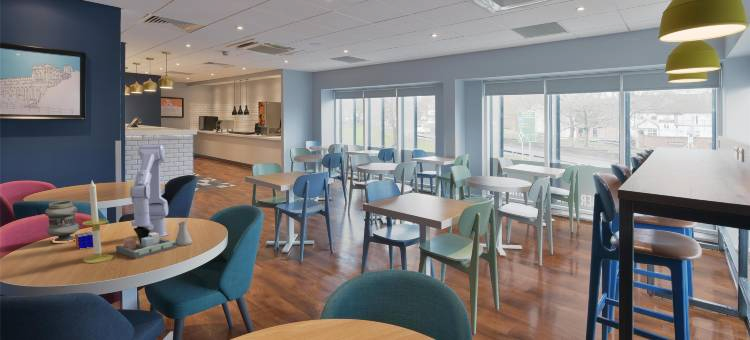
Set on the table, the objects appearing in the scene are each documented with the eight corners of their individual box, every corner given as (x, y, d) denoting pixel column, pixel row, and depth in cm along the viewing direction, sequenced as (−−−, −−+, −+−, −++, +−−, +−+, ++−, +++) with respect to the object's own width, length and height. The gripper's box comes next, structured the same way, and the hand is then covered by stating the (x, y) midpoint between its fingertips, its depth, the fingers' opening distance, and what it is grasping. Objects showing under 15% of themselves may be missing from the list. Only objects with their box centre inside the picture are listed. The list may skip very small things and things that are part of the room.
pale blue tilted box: (141, 247, 174) (141, 238, 173) (149, 245, 176) (148, 236, 176) (146, 249, 172) (146, 240, 171) (154, 247, 174) (153, 238, 174)
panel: (116, 251, 172) (115, 244, 172) (156, 241, 186) (155, 234, 186) (135, 258, 163) (135, 251, 163) (175, 247, 178) (175, 240, 177)
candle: (90, 265, 156) (83, 182, 152) (78, 260, 161) (71, 179, 157) (117, 257, 165) (112, 178, 160) (105, 253, 170) (99, 176, 166)
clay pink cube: (123, 248, 172) (123, 239, 172) (131, 246, 175) (131, 237, 174) (128, 250, 170) (127, 240, 170) (136, 248, 173) (135, 239, 172)
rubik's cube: (76, 246, 178) (75, 234, 177) (91, 243, 182) (90, 231, 182) (79, 249, 174) (78, 236, 174) (94, 246, 178) (93, 234, 178)
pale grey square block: (147, 242, 180) (147, 233, 180) (154, 240, 183) (154, 232, 183) (152, 244, 178) (151, 235, 178) (159, 242, 181) (159, 233, 180)
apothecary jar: (41, 242, 183) (37, 203, 181) (70, 235, 194) (66, 198, 192) (58, 246, 178) (54, 206, 176) (86, 238, 189) (83, 201, 187)
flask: (185, 246, 179) (184, 224, 178) (170, 245, 181) (169, 223, 180) (195, 241, 186) (194, 220, 185) (181, 240, 188) (180, 219, 187)
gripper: (123, 212, 175) (125, 242, 176) (140, 216, 167) (142, 248, 168) (140, 209, 180) (142, 238, 182) (157, 213, 172) (159, 244, 174)
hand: (143, 243), depth 176 cm, fingers closed
